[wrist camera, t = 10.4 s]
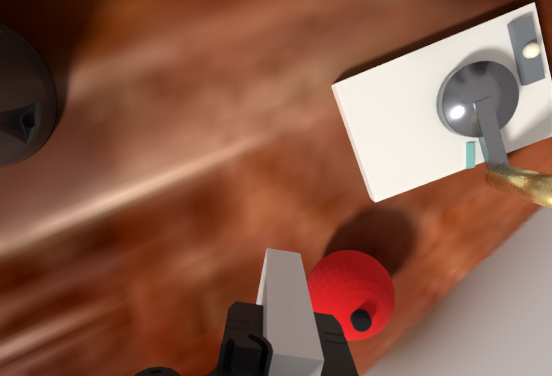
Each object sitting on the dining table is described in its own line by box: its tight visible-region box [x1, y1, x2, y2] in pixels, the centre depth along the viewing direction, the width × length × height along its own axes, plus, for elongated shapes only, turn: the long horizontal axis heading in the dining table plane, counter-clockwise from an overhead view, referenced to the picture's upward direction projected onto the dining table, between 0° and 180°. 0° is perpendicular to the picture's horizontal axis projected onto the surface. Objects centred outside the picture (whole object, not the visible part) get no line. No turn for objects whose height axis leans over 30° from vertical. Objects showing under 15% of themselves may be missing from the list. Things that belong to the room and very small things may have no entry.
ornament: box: [307, 250, 395, 340], centre depth 35 cm, size 9×9×10 cm
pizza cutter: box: [436, 61, 552, 209], centre depth 30 cm, size 13×7×10 cm, turn 22°
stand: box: [331, 2, 552, 203], centre depth 34 cm, size 13×20×4 cm, turn 112°
